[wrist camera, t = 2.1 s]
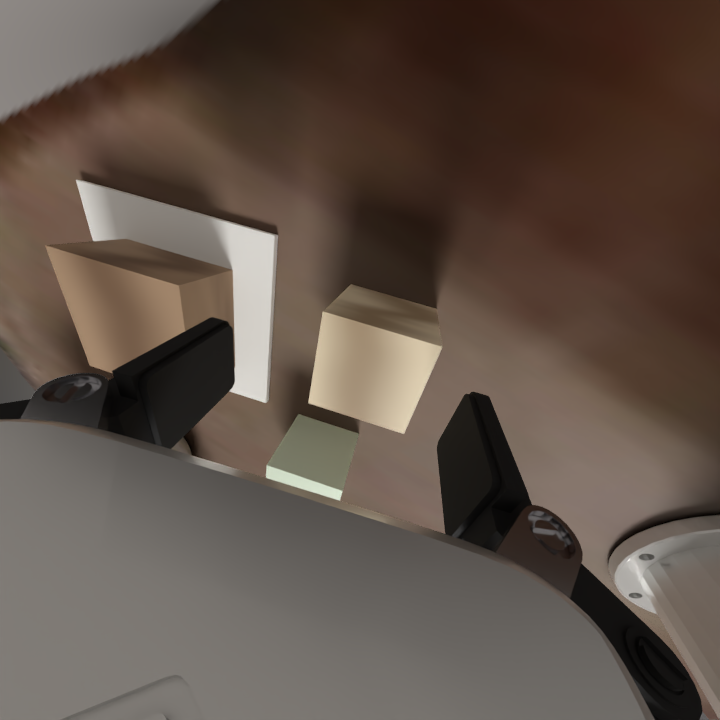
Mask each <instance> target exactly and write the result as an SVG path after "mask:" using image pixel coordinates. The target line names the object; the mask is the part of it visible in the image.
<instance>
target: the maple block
mask: <svg viewBox="0 0 720 720" xmlns="http://www.w3.org/2000/svg"><path fill="white" fill-rule="evenodd" d="M441 349H442V340H441V334H440V327H439V321H438V314H437V309H436V308H432V307H429V306H425V305H422V304H418V303H415V302H411V301H408V300H404V299H401V298H397V297H394V296H390V295H387V294H383V293H380V292H377V291H373V290H370V289H366V288H363V287H359V286H356V285H352V284H351V285H350V286H349V287H348V288H346V289H345V290H344V291H343V292H342V293H341V294H340V295H339V296H338V297H337V298H336V299H335V300H334V301H333V302H332V303H331V304H330V305H329V306H328V307H327V308H326V309H325V310H324V311H323V314H322V320H321V327H320V333H319V339H318V345H317V352H316V358H315V364H314V370H313V376H312V383H311V389H310V395H309V401H308V403H309V404H313V405H316V406H319V407H322V408H325V409H328V410H331V411H334V412H337V413H340V414H344V415H347V416H350V417H353V418H356V419H359V420H362V421H365V422H368V423H371V424H375V425H378V426H381V427H384V428H387V429H390V430H393V431H396V432H399V433H402V434H404V432H405V430H406V428H407V426H408V423H409V421H410V419H411V417H412V414H413V412H414V410H415V408H416V405H417V403H418V401H419V399H420V396H421V394H422V392H423V390H424V387H425V385H426V383H427V381H428V378H429V376H430V374H431V372H432V369H433V367H434V365H435V363H436V361H437V358H438V356H439V354H440V352H441Z"/></svg>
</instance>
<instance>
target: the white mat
mask: <svg viewBox="0 0 720 720" xmlns="http://www.w3.org/2000/svg"><path fill="white" fill-rule="evenodd" d="M76 182H77V185H78V189H79V192H80V196H81V199H82V203H83V207H84V210H85V214H86V217H87V221H88V224H89V228H90V232H91V235H92V239H93V241H104V240H116V239H129V240H132V241H136V242H139V243H143V244H146V245H149V246H153V247H156V248H160V249H163V250H166V251H170V252H173V253H177V254H180V255H183V256H187V257H190V258H194V259H197V260H201V261H204V262H207V263H211V264H214V265H218V266H221V267H224V268H228V269H231V270H233V299H234V336H235V368H234V370H235V383H234V385H233V387H232V389H231V390H230V392H233V393H236V394H240V395H243V396H246V397H249V398H252V399H255V400H258V401H261V402H264V403H267V401H268V400H269V386H270V369H271V351H272V334H273V316H274V298H275V281H276V263H277V246H278V235H276V234H273V233H269V232H265V231H262V230H258V229H255V228H251V227H248V226H244V225H240V224H237V223H233V222H230V221H226V220H223V219H219V218H216V217H212V216H208V215H205V214H201V213H198V212H194V211H191V210H187V209H183V208H180V207H176V206H173V205H169V204H166V203H162V202H158V201H155V200H151V199H148V198H144V197H141V196H137V195H134V194H130V193H126V192H123V191H119V190H116V189H112V188H109V187H105V186H101V185H98V184H94V183H91V182H87V181H83V180H76Z"/></svg>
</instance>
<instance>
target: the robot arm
mask: <svg viewBox="0 0 720 720" xmlns="http://www.w3.org/2000/svg"><path fill="white" fill-rule="evenodd" d="M112 372H113V375H114V378H112V379H111V380H109V381H108V380H107V379H106V378H105V377H104V376H102V375H99V374H94V373H78V374H71V375H66V376H63V377H59V378H56V379H54V380H51V381H49V382H47V383H45V384H44V385H42V386H41V387H39V388H38V389H37V390H36V391H35V393H34V394H33V396H32V398H31V399H29V400H23V401H16V402H10V403H4V404H0V720H709V719H708V718H707V717H706V716H705V714H704V713H703V712H702V705H701V699H700V696H699V694H698V692H697V689H696V687H695V684H694V682H693V681H692V679H691V677H690V676H689V674H688V672H687V670H686V669H685V667H684V666H683V664H682V663H681V662H680V660H679V659H678V658H677V657H676V655H675V654H674V653H673V651H672V650H671V649H670V648H669V647H668V646H667V645H666V644H665V643H664V642H663V641H662V640H661V639H660V638H659V637H658V636H657V635H656V634H655V633H654V632H653V631H652V630H651V629H650V628H649V627H648V626H647V625H646V624H645V623H644V622H643V621H641V620H640V619H639V618H638V617H637V616H636V615H635V614H634V613H633V612H632V611H631V610H630V609H629V608H628V607H627V606H626V605H625V604H624V603H622V602H621V601H620V600H619V599H618V598H617V597H616V596H615V595H614V594H613V593H612V592H611V591H610V590H609V589H608V588H607V587H606V586H605V585H604V584H602V583H601V582H600V581H599V580H598V579H597V578H596V577H595V576H594V575H593V574H592V573H591V572H590V571H589V570H588V569H587V568H586V567H585V566H583V565H582V564H581V562H582V549H581V546H580V543H579V541H578V540H577V538H576V536H575V534H574V533H573V532H572V530H571V529H570V528H569V527H568V525H567V524H566V523H564V522H563V521H562V520H561V519H560V518H559V517H558V516H557V515H555V514H554V513H552V512H551V511H549V510H547V509H545V508H543V507H540V506H536V505H532V504H531V501H530V499H529V496H528V492H527V490H526V487H525V485H524V482H523V480H522V477H521V475H520V472H519V470H518V467H517V465H516V462H515V460H514V457H513V455H512V452H511V450H510V447H509V445H508V442H507V440H506V438H505V435H504V433H503V430H502V428H501V425H500V423H499V420H498V418H497V415H496V413H495V410H494V408H493V405H492V403H491V400H490V398H489V396H486V395H483V394H479V393H476V392H471V393H470V394H465V395H464V397H463V399H462V400H461V402H460V404H459V406H458V407H457V409H456V411H455V413H454V415H453V416H452V418H451V420H450V422H449V423H448V425H447V427H446V429H445V431H444V432H443V434H442V436H441V438H440V439H439V441H438V445H437V454H438V464H439V474H440V484H441V494H442V504H443V514H444V525H445V533H446V534H443V533H440V532H437V531H434V530H431V529H428V528H425V527H422V526H419V525H416V524H413V523H410V522H407V521H403V520H400V519H397V518H394V517H391V516H387V515H384V514H381V513H378V512H375V511H371V510H368V509H365V508H362V507H359V506H355V505H352V504H349V503H346V502H343V501H339V500H336V499H333V498H330V497H326V496H323V495H320V494H317V493H313V492H310V491H307V490H304V489H300V488H297V487H294V486H291V485H287V484H284V483H281V482H278V481H274V480H271V479H268V478H265V477H261V476H258V475H255V474H251V473H248V472H245V471H242V470H238V469H235V468H232V467H228V466H225V465H222V464H218V463H215V462H212V461H208V460H205V459H202V458H199V457H195V456H192V455H189V454H185V453H182V452H179V451H175V450H172V448H173V447H174V446H175V445H176V444H177V443H178V442H179V441H180V440H181V439H182V438H183V437H184V436H185V435H186V434H187V433H188V432H189V431H190V430H191V429H192V428H193V427H194V426H195V425H196V424H197V423H198V422H199V421H200V420H201V419H202V418H203V417H204V416H205V415H206V414H207V413H208V412H209V411H210V410H211V409H212V408H213V407H214V406H215V405H216V404H217V403H218V402H219V401H220V400H221V399H222V398H223V397H224V396H225V395H226V394H227V393H228V392H229V391H230V390H231V389H232V387H233V385H234V383H235V370H234V344H233V328H232V327H231V326H230V325H229V323H228V322H227V321H225V320H221V319H218V318H214V317H211V318H209V319H207V320H205V321H203V322H201V323H199V324H197V325H196V326H194V327H192V328H190V329H188V330H186V331H185V332H183V333H181V334H179V335H177V336H175V337H173V338H172V339H170V340H168V341H166V342H164V343H162V344H161V345H159V346H157V347H155V348H153V349H151V350H150V351H148V352H146V353H144V354H142V355H140V356H138V357H137V358H135V359H133V360H131V361H129V362H127V363H126V364H124V365H122V366H120V367H118V368H116V369H114V370H113V371H112ZM608 568H609V572H610V575H611V577H612V579H613V581H614V583H615V585H616V586H617V588H618V590H619V591H620V593H621V594H622V595H623V596H624V597H625V598H627V599H628V600H630V601H631V602H633V603H634V604H636V605H637V606H639V607H641V608H644V609H646V610H648V611H650V612H653V613H656V614H658V616H659V618H660V619H661V621H662V623H663V625H664V626H665V628H666V630H667V631H668V633H669V635H670V636H671V638H672V640H673V642H674V643H675V645H676V647H677V648H678V650H679V652H680V653H681V655H682V657H683V659H684V660H685V662H686V664H687V665H688V667H689V669H690V670H691V672H692V674H693V676H694V677H695V679H696V681H697V682H698V684H699V686H700V687H701V689H702V691H703V693H704V694H705V696H706V698H707V699H708V701H709V703H710V704H711V706H712V708H713V709H714V711H715V713H716V715H717V716H718V718H719V720H720V515H711V516H700V517H693V518H687V519H682V520H676V521H672V522H668V523H664V524H661V525H657V526H654V527H651V528H649V529H646V530H644V531H641V532H639V533H637V534H635V535H633V536H632V537H630V538H628V539H627V540H625V541H624V542H623V543H621V544H620V545H619V546H618V547H617V548H616V549H615V550H614V552H613V554H612V555H611V557H610V559H609V564H608ZM713 720H717V719H713Z"/></svg>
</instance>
